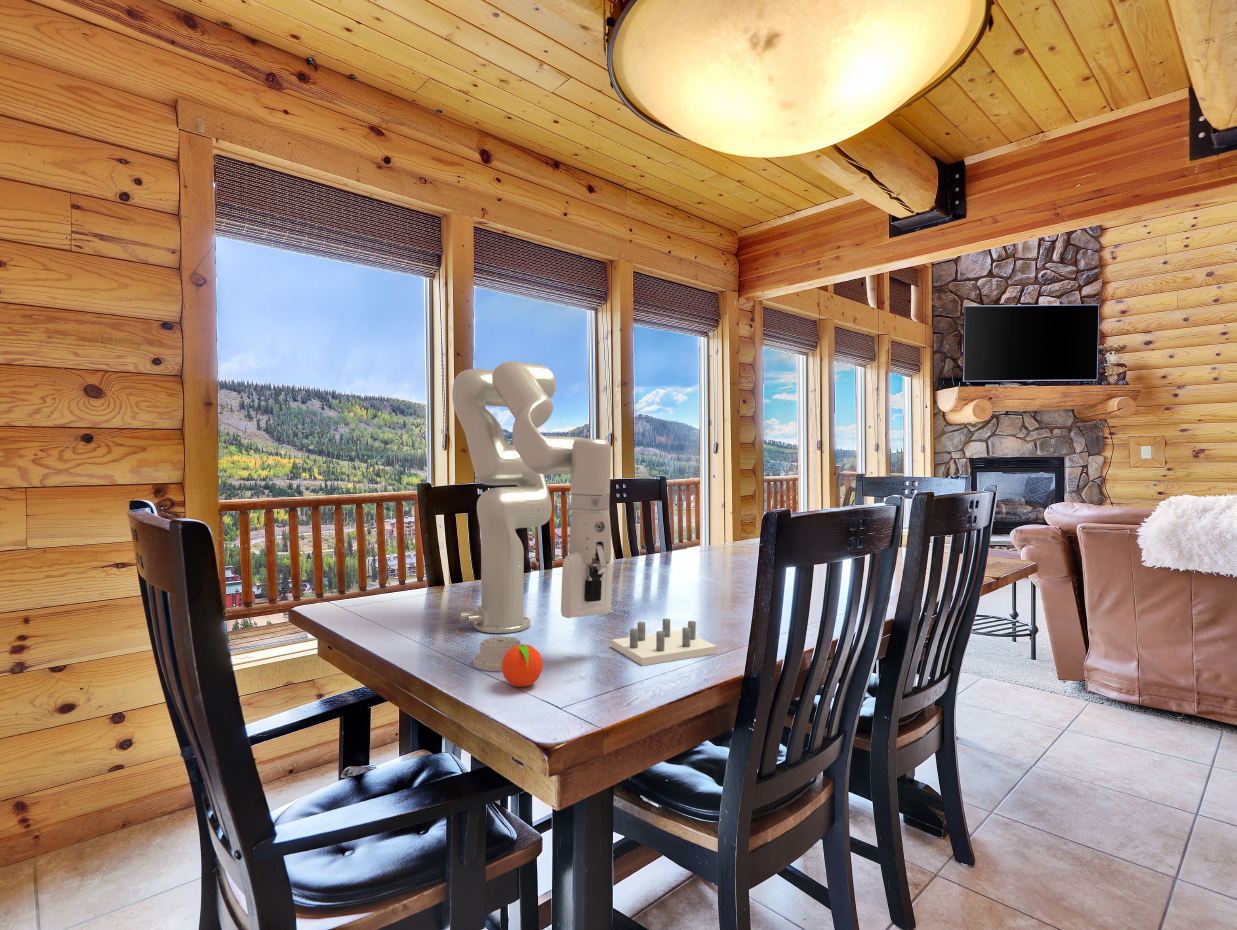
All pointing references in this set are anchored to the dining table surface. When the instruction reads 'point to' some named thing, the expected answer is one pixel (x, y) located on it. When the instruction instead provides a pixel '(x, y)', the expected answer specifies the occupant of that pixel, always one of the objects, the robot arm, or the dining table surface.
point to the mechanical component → (494, 652)
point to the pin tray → (669, 652)
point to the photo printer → (583, 589)
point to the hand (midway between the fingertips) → (586, 596)
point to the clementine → (522, 665)
